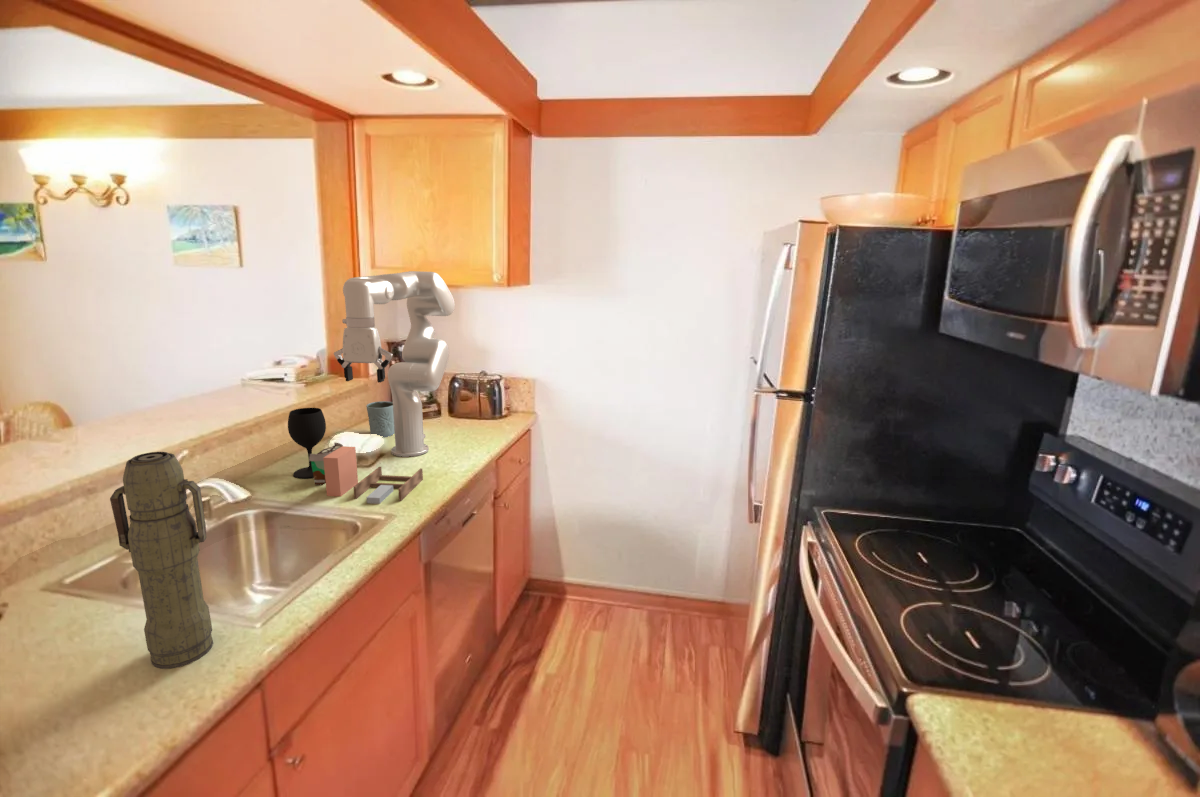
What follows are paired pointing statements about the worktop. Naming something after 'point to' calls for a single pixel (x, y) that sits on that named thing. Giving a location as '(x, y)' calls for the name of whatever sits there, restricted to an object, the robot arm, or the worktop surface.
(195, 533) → the thermos
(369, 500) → the offcut upper
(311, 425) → the wine glass
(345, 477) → the pink slab
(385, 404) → the blue-grey embossed cup
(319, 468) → the food container
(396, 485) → the rack
